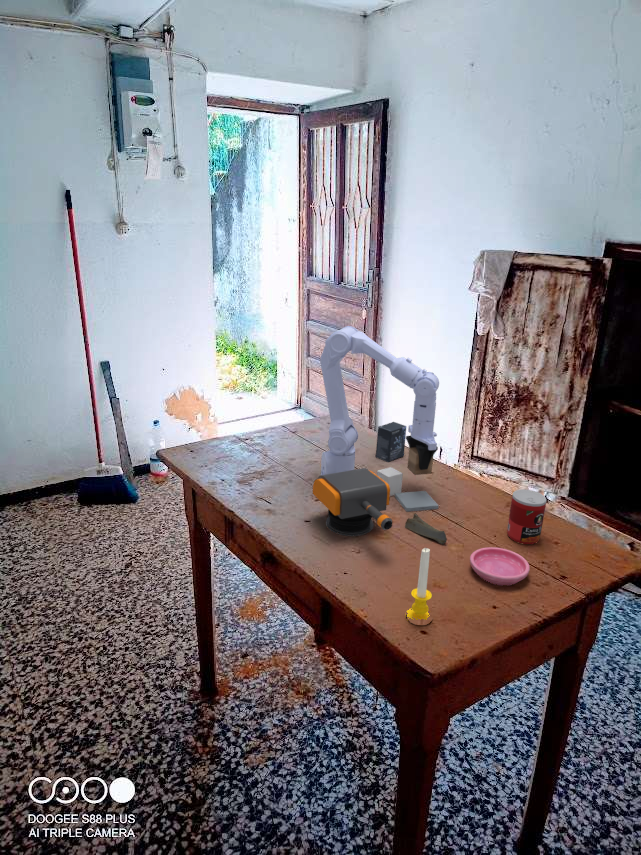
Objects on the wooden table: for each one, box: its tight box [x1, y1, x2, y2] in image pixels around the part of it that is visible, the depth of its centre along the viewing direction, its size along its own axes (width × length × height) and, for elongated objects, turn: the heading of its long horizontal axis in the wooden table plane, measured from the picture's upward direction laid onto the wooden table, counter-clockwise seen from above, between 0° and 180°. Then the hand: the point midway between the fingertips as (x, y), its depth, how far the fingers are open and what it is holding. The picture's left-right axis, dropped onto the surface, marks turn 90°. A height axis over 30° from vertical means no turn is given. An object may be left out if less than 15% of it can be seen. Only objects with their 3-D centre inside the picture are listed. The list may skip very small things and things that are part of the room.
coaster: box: [394, 490, 439, 513], centre depth 160 cm, size 9×9×1 cm
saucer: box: [469, 546, 531, 586], centre depth 129 cm, size 12×12×3 cm
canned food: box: [506, 489, 547, 545], centre depth 143 cm, size 8×8×11 cm
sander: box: [312, 467, 393, 537], centre depth 142 cm, size 15×25×13 cm, turn 25°
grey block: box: [376, 466, 403, 497], centre depth 166 cm, size 5×5×6 cm
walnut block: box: [406, 447, 434, 476], centre depth 163 cm, size 5×5×6 cm
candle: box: [406, 547, 433, 620], centre depth 112 cm, size 5×5×16 cm
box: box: [375, 421, 407, 463], centre depth 189 cm, size 8×6×11 cm
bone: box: [404, 513, 447, 545], centre depth 144 cm, size 13×5×4 cm, turn 28°
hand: (419, 465), depth 164 cm, fingers closed on walnut block, 5 cm apart
